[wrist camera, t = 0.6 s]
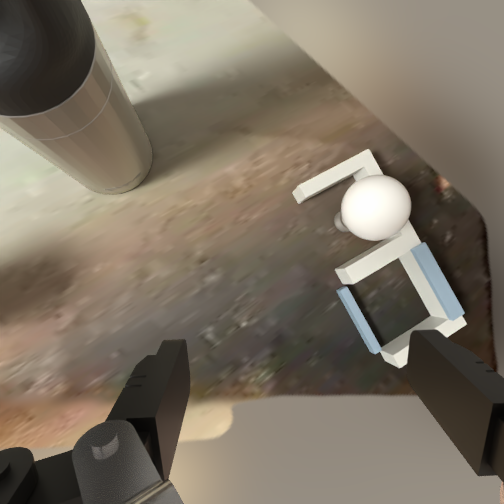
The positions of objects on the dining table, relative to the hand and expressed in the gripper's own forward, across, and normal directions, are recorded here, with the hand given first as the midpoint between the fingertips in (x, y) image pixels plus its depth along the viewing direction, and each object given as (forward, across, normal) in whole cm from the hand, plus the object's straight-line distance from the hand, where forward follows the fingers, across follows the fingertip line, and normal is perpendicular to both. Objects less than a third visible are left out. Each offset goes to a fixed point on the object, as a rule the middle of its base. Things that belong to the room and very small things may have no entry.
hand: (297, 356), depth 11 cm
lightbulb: (+28, -10, 0) cm, 30 cm away
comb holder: (+26, -12, +5) cm, 29 cm away
